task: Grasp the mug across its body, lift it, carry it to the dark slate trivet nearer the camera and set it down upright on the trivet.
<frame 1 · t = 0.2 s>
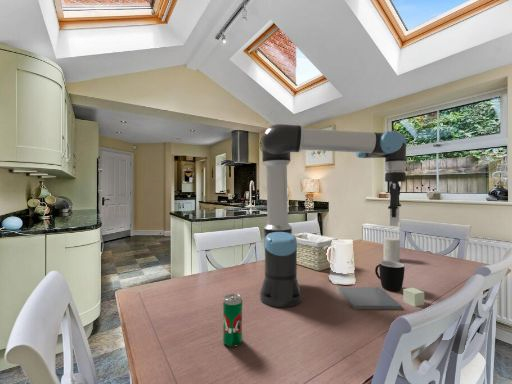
hand: (394, 223, 107), 26 cm above the table, fingers open, 13 cm apart
cup: (391, 260, 145), on the table
sage block: (413, 303, 92), on the table
mug: (388, 287, 106), on the table
storage basket: (310, 264, 138), on the table
soda can: (232, 342, 68), on the table
slate trivet: (367, 298, 95), on the table
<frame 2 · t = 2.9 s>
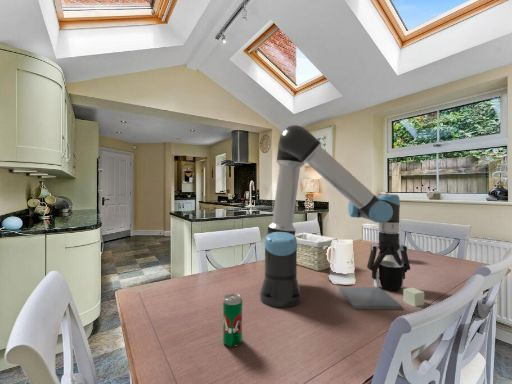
hand: (388, 286, 106), 0 cm above the table, fingers open, 9 cm apart
mug: (387, 287, 106), on the table, touching gripper
everything else where it was.
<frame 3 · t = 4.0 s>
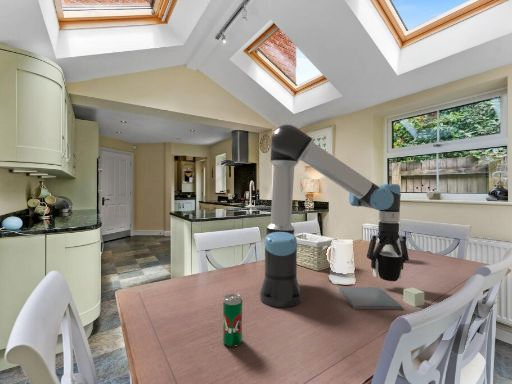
hand: (386, 276, 105), 4 cm above the table, fingers closed on mug, 9 cm apart
mug: (385, 277, 105), point 4 cm above the table, touching gripper
everything else where it was.
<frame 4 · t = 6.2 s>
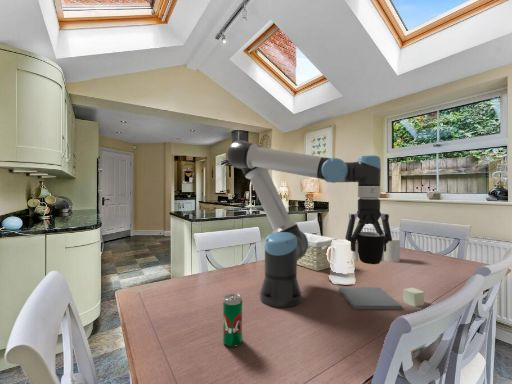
hand: (368, 260, 94), 14 cm above the table, fingers closed on mug, 9 cm apart
mug: (366, 261, 94), point 14 cm above the table, touching gripper
everything else where it was.
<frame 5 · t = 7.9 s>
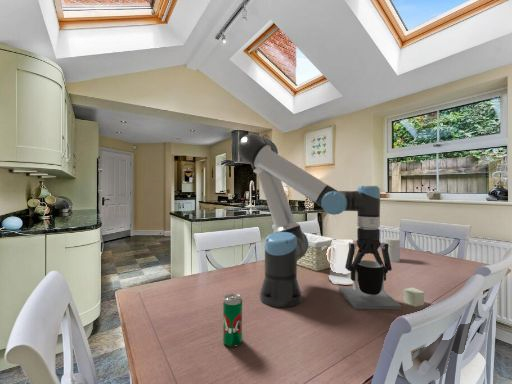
hand: (368, 289, 95), 4 cm above the table, fingers closed on mug, 9 cm apart
mug: (366, 290, 94), point 3 cm above the table, touching gripper
everything else where it was.
when the fingers open (3 cm above the table, at t = 8.7 s): mug drops 1 cm, resting on slate trivet.
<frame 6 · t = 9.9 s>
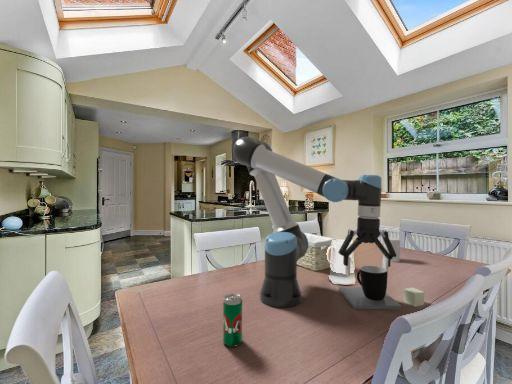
hand: (366, 274, 95), 9 cm above the table, fingers open, 13 cm apart
mug: (370, 295, 95), point 1 cm above the table, touching slate trivet
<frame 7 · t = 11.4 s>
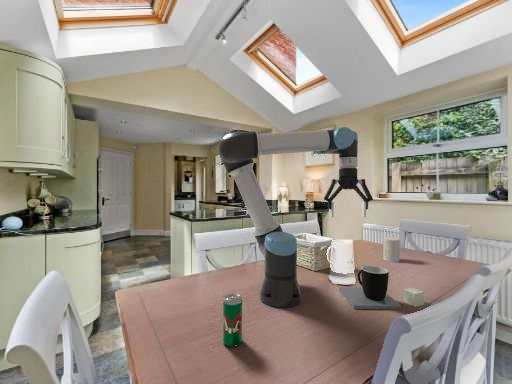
hand: (347, 217, 111), 28 cm above the table, fingers open, 13 cm apart
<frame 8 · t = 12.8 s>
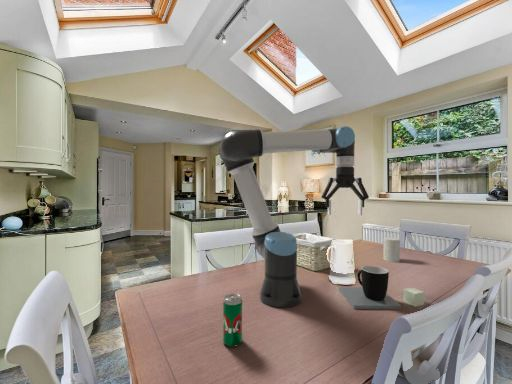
hand: (344, 214, 114), 29 cm above the table, fingers open, 13 cm apart
at the end: mug inside the target area on the slate trivet (1.2 cm from its centre), point 1.0 cm above the slate trivet's base; mug tilted 0°; the gripper is holding nothing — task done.
